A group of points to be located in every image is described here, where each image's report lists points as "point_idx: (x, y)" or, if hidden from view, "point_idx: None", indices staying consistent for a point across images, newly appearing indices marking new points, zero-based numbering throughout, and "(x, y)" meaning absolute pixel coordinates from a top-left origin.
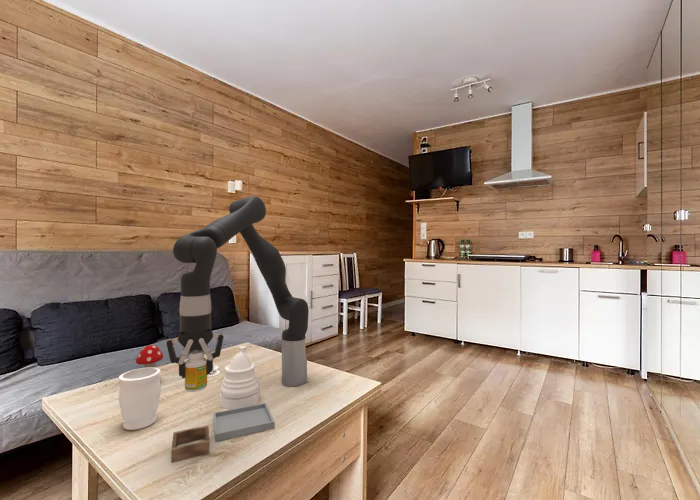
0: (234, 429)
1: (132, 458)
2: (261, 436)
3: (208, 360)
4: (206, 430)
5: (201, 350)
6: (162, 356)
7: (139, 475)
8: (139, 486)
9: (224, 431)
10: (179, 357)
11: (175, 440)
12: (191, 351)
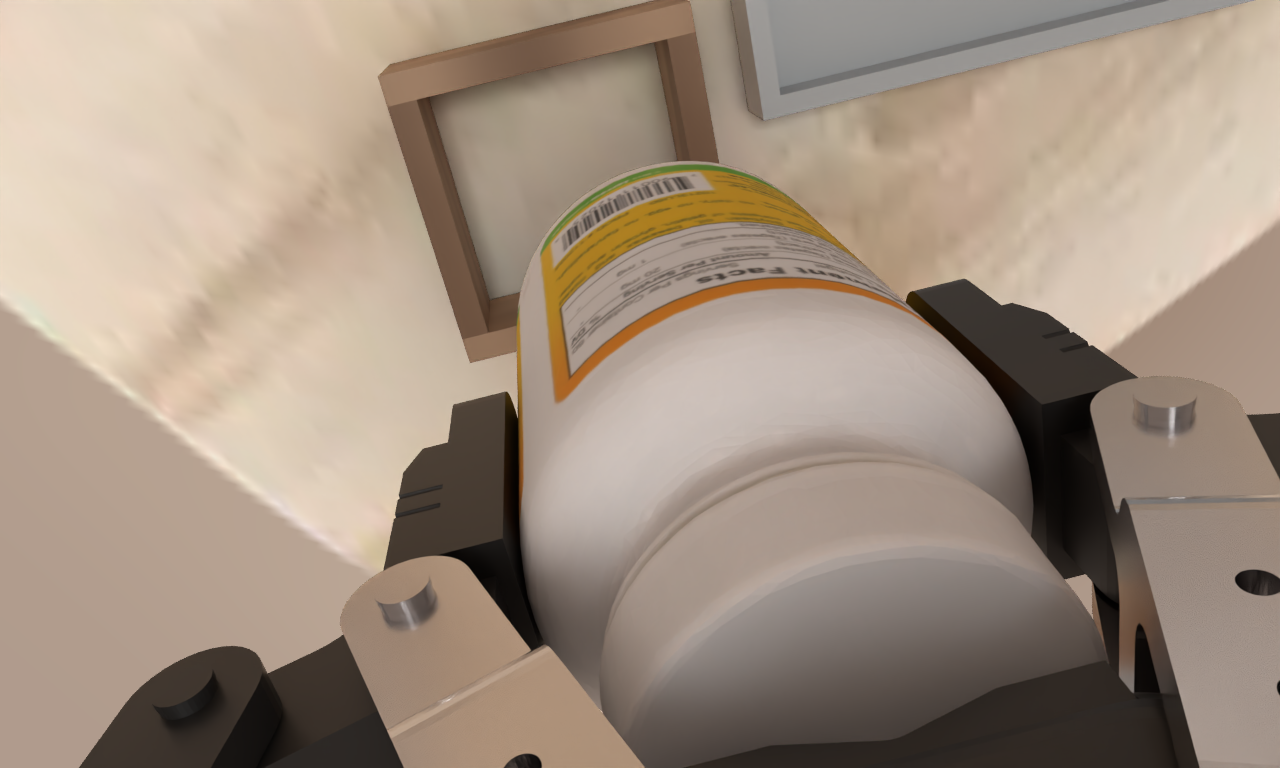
0: (923, 66)
1: (137, 229)
2: (1107, 101)
3: (1077, 551)
4: (689, 105)
5: (1036, 652)
6: None
7: (311, 431)
8: (366, 525)
9: (837, 83)
10: (381, 750)
11: (452, 231)
12: (718, 720)
